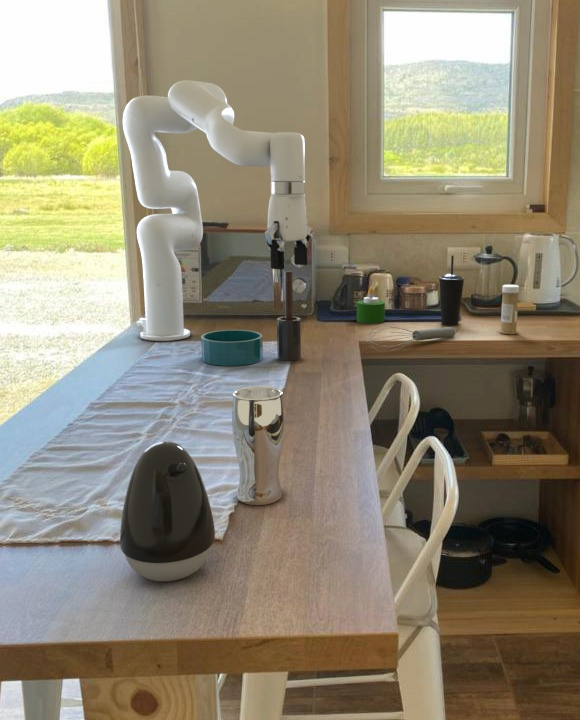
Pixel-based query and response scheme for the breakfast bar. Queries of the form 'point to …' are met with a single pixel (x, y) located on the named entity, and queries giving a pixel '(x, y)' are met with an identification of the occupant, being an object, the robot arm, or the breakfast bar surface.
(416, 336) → the kitchen whisk
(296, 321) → the crock
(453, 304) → the drinking cup
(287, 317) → the wooden muddler
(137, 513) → the black egg-shaped body
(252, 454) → the beer glass
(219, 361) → the bowl
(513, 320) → the sprinkles bottle
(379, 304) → the candle
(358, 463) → the breakfast bar surface
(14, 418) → the breakfast bar surface
